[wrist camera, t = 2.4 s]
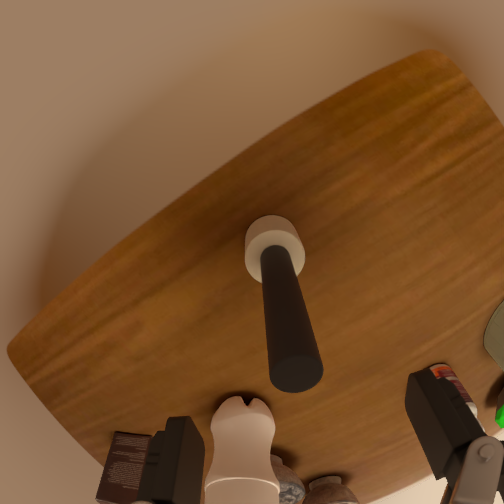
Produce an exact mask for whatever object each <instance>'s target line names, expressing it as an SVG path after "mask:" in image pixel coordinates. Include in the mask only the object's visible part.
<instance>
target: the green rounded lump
mask: <svg viewBox="0 0 504 504" xmlns="http://www.w3.org/2000/svg"><path fill="white" fill-rule="evenodd" d="M495 421H496V422H497V423H498V425H499V426H500V427H501V428H504V387H503V389H502V391H501V393H500V394H499V396H498V399H497V409H496V417H495Z"/></svg>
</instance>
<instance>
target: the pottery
mask: <svg viewBox="0 0 504 504" xmlns="http://www.w3.org/2000/svg"><path fill="white" fill-rule="evenodd" d="M270 461H271V466H272V469H273V472H274V474H275V476H276V478H277V480H278V481H279V485H280V492H279V504H296V503H297V502H299V501H300V500H301V499H302V498H303V497H304V495H305V488H304V485H303V483H302V481H301V480H300V478H299V477H298V476H297V474H296V473H295V472H293V471H292V470H291V469H290V468H288V467H286V466H285V465H283V462H282V459H281V458H279V457H278V456H276V455H272V454H270ZM309 488H310V490H311V491H310V492H309V493H308V494H307V496H306V497H305V499H304V501H303V503H302V504H360V503H359V502H358V500H357V498H356V497H355V495H354V494H353V492H352V491H351V490H350V489H349V488H347V487H346V486H344V485H341V478H340V477H338V476H327V477H322V478H319V479H317V480H314V481H312V482H311V483H310V484H309Z"/></svg>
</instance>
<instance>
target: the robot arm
mask: <svg viewBox="0 0 504 504" xmlns="http://www.w3.org/2000/svg"><path fill="white" fill-rule="evenodd" d="M405 408H406V412H407V415H408V417H409V419H410V421H411V423H412V425H413V428H414V430H415V432H416V434H417V437H418V439H419V441H420V443H421V446H422V448H423V450H424V452H425V455H426V457H427V459H428V462H429V464H430V466H431V469H432V471H433V474H434V476H435V478H436V480H439V479H441V478H443V477H446V479H447V482H448V484H447V486H446V489H445V492H444V495H443V497H442V500H441V503H440V504H493V502H494V498H495V494H496V491H499V492H500V494H501V497H502V499H503V502H504V441H499V440H498V439H496V438H494V437H491V436H487V434H486V433H485V432H484V431H483V429H482V427H481V426H480V424H479V422H478V421H477V419H476V417H475V416H474V414H473V413H472V411H471V409H470V408H469V406H468V405H467V404H466V401H465V400H464V398H463V397H462V396H461V394H460V392H459V390H458V389H457V387H456V386H455V384H454V383H452V382H451V381H449V380H448V379H446V378H445V377H441V378H438V379H437V378H436V376H435V375H434V373H433V372H432V370H431V369H430V368H426V369H423V370H420V371H417V372H414V373H411V374H410V375H409V377H408V384H407V390H406V397H405ZM204 456H205V446H204V441H203V438H202V437H201V435H200V433H199V431H198V430H197V428H196V426H195V424H194V422H193V421H192V419H191V417H190V416H179V417H169V418H168V420H167V423H166V428H165V431H157V433H156V434H155V436H154V437H153V438H152V440H151V441H150V445H149V449H148V455H147V457H146V461H145V463H146V464H145V465H144V469H143V473H142V478H141V482H140V486H139V490H138V495H137V498H136V500H135V502H133V503H131V504H200V496H201V486H202V476H203V466H204Z"/></svg>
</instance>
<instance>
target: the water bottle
mask: <svg viewBox="0 0 504 504" xmlns="http://www.w3.org/2000/svg"><path fill="white" fill-rule="evenodd" d="M211 432H212V434H213V438H214V457H213V461H212V465H211V468H210V470H209V473H208V475H207V477H206V479H205V504H279V492H280V485H279V481H278V480H277V478H276V476H275V474H274V472H273V469H272V466H271V461H270V449H271V443H272V439H273V436H274V433H275V423H274V419H273V416H272V414H271V411H270V410H269V408H268V407H267V405H266V404H265V403H264V402H263V401H261V400H260V399H257V398H253V399H252V401H251V402H250V404H249V406H246V405H245V403H244V401H243V399H242V398H241V397H240V396H233V397H230V398H228V399H227V400H225V401H224V402H223V403H222V404H221V406H220V407H219V409H218V410H217V411H216V412H215V414H214V415H213V417H212V421H211Z"/></svg>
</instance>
